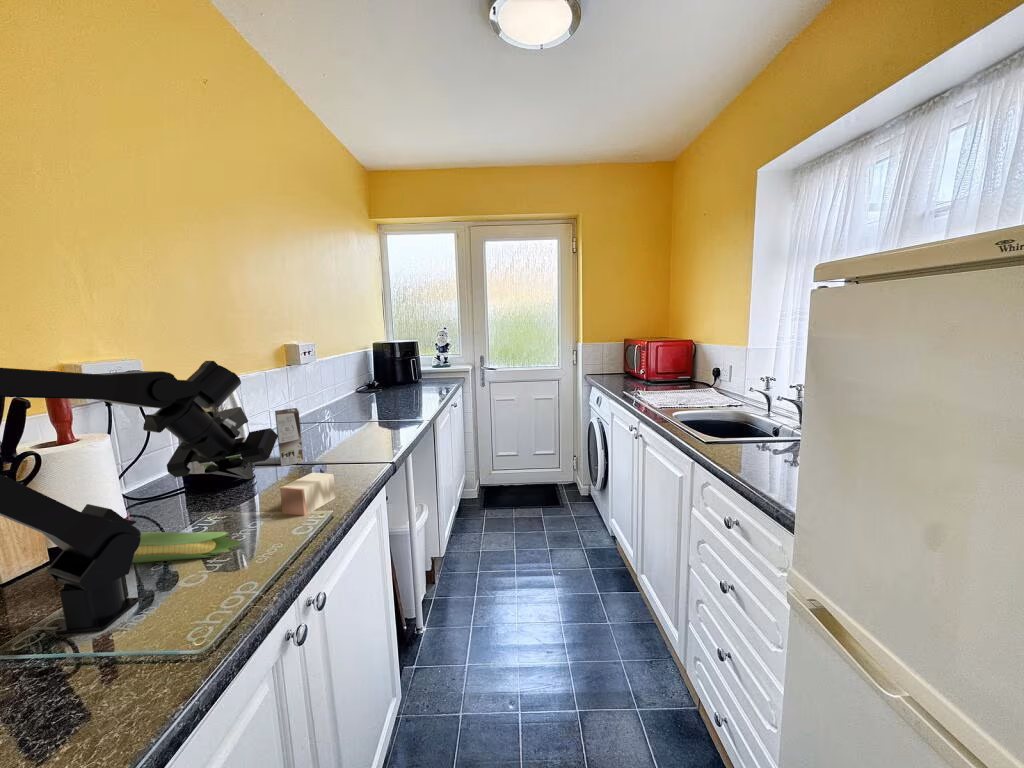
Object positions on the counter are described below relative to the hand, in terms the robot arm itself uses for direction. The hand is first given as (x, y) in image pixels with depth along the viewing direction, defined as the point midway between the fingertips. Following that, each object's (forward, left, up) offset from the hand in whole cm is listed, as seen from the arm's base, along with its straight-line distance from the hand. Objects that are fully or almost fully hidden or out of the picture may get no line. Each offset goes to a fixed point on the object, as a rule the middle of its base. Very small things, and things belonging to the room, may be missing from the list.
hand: (251, 476), depth 83 cm
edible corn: (-7, +10, -12) cm, 18 cm away
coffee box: (+49, +13, -12) cm, 53 cm away
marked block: (+8, -4, -9) cm, 13 cm away
